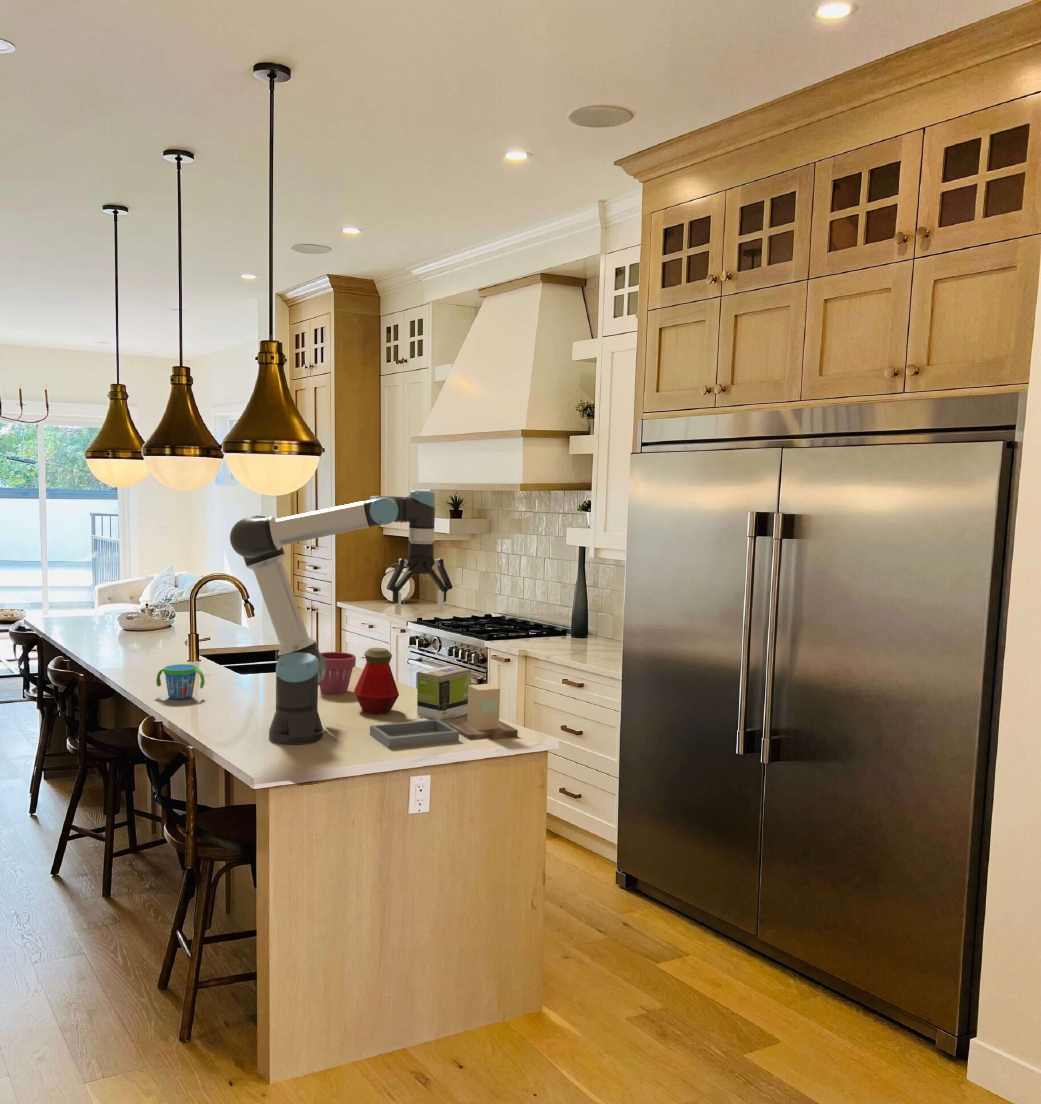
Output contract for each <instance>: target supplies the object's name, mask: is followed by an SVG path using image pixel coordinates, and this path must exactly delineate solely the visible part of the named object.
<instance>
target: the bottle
mask: <svg viewBox="0 0 1041 1104" xmlns="http://www.w3.org/2000/svg"><path fill="white" fill-rule="evenodd" d="M363 655H364V657H365V660H366V663H365V665H364V668H363V669H362V671H361V674H360V675H359V679H358V680H357V683H356V685H355V687H354V689H353V693H354V695H355V697H356V698H355V699H357V702H358V704H359V706H360V708H361V710H362V712H363V711H364V713H365V712H367V713H366V714H369V713H373V714H372V715H384V714H383V713H386V714H389V713H390V712H391V710H392V709H393V707H394V705H395V703H396V701H397V700H398V698H399V696H400V693H399V690H398V686H397V684H396V681H395V677H394V675H393V671H392V669H391V666H390V662H391V660H392V657H393V654H392V653H391V652H390V651H389V650H388V649H387V648H385V647H370V648H368V649H367V650H365V652H364V653H363ZM388 712H389V713H388Z"/></svg>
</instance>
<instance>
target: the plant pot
mask: <svg viewBox="0 0 1041 1104" xmlns="http://www.w3.org/2000/svg"><path fill="white" fill-rule="evenodd" d="M320 653H321V654H322V655H323V657H324V658H325V661H326V665H327V671H326V675H325V678H324V680H323V681H322V683H321V684H320V685H319V689H320V690H319V691H320V693H322V694H325V695H326V694H327V695H341V694H346V693H347V692H348V689H349V685H350V682H351V677H352V674H353V673H352V672H353V669H354V668H355V667H356V665H357V664H356V662H357V659H356V655H355V654H353V653H350V652H349V653H348V652H343V651H342V652H341V651H325V652H320Z"/></svg>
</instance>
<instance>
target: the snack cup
mask: <svg viewBox="0 0 1041 1104" xmlns="http://www.w3.org/2000/svg"><path fill="white" fill-rule="evenodd" d="M162 673H163V674H164V676H165V682H166V690H167V694H168V695H167V696H168V697H169V699H170V700H186V699H191V698H192V697H193V694H194V688H195V682H196V675H197V674H198V675H199V677H200V684H199V685H200V687H199V688H200V689H203V688H204V686H205V675H204V673H203V671H202V670H200V668H198V666H197V665H195V664H189V663H185V664H184V663H182V664H181V663H180V664H179V663H178V664H177V663H176V664H171V665H167V666H164V667H163V668H162V669H160V670H159V671H158V672H157V675H156V680H155V681H156V683H155V684H156V686H157V687H161V686H162V683H161V682H162V681H161V675H162Z"/></svg>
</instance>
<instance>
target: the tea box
mask: <svg viewBox="0 0 1041 1104" xmlns="http://www.w3.org/2000/svg"><path fill="white" fill-rule="evenodd" d="M468 685H472V669H471V668H470V669H468V668H463V667H459V666H452V665H444V666H440V667H435V668H430V669H425V670H420V671H417V692H416V693H417V695H416V696H417V698H416V700H417V701H416V702H417V703H416V706H417V707H416V711H417V712H416V713H417V714H416V715H417V717H418V716H420V717H419V718H421V717H424V718H423V719H433V720H434V719H438V720H440V721H441V720H443V719H448V718H452V719H454V718H457V717H462V716H467V714H468Z"/></svg>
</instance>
